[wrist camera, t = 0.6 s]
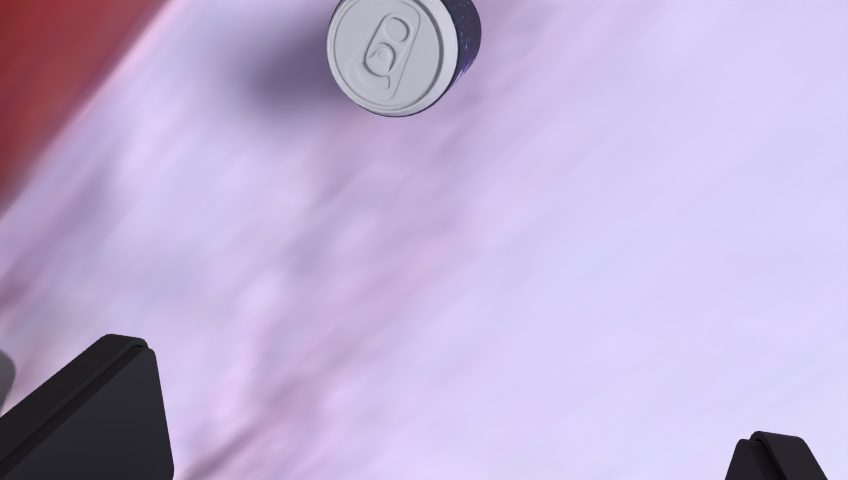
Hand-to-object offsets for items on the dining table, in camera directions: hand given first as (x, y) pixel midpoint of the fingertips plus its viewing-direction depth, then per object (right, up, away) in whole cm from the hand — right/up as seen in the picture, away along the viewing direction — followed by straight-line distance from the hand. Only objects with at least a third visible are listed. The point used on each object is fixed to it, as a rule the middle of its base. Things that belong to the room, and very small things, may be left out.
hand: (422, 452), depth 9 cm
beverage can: (+1, +16, +25) cm, 29 cm away
